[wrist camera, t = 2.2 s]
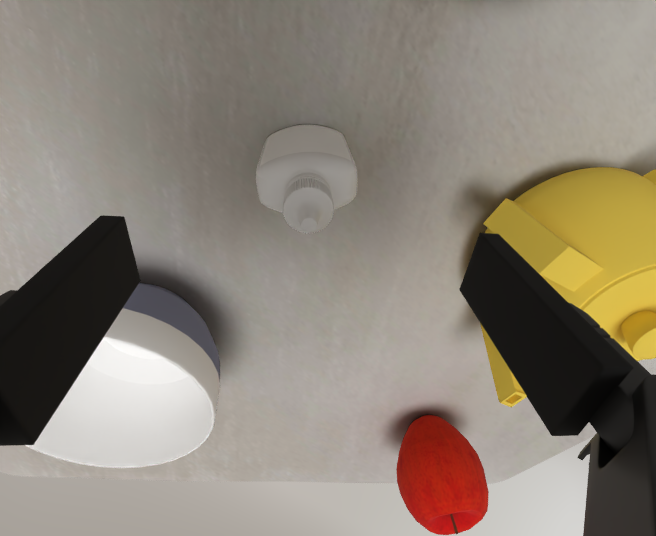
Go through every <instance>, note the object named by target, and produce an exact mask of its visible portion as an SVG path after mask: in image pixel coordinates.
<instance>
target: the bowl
mask: <svg viewBox="0 0 656 536" xmlns="http://www.w3.org/2000/svg"><path fill="white" fill-rule="evenodd" d="M219 391H220V361H219V355H218V350H217V348H216V345H215V343H214V341H213V338H212V336H211V334H210V332H209V329H208V327H207V325H206V323H205V322H204V320H203V319H202V318H201V316H200V315H199V314H198V313H197V312H196V311H195V310H194V309H193V308H192V307H191V306H190V305H189V304H188V303H187V302H186V301H185V300H184V299H183V298H181V297H180V296H178V295H177V294H175V293H173V292H171V291H169V290H167V289H165V288H162V287H159V286H155V285H151V284H144V283H139V284H138V285H137V287H136V288H135V290H134V292H133V293H132V295H131V296H130V298H129V299H128V301H127V302H126V304H125V305H124V307H123V308H122V310H121V311H120V313H119V315H118V316H117V318H116V319H115V321H114V322H113V324H112V325H111V327H110V328H109V330H108V331H107V333H106V334H105V336H104V338H103V339H102V341H101V342H100V344H99V345H98V347H97V348H96V350H95V351H94V353H93V354H92V356H91V358H90V359H89V361H88V362H87V364H86V365H85V367H84V368H83V370H82V371H81V373H80V374H79V376H78V377H77V379H76V381H75V382H74V384H73V385H72V387H71V388H70V390H69V391H68V393H67V394H66V396H65V397H64V399H63V400H62V402H61V404H60V405H59V407H58V408H57V410H56V411H55V413H54V414H53V416H52V417H51V419H50V420H49V422H48V423H47V425H46V427H45V428H44V430H43V431H42V433H41V434H40V436H39V437H38V439H37V440H36V442H35V443H34V445H25V446H27V447H29V448H31V449H33V450H36V451H38V452H40V453H43V454H46V455H49V456H52V457H55V458H58V459H62V460H66V461H70V462H74V463H78V464H84V465H91V466H97V467H110V468H137V467H145V466H153V465H158V464H162V463H166V462H170V461H173V460H176V459H178V458H181V457H183V456H185V455H187V454H189V453H190V452H192V451H194V450H195V449H197V448H198V447H199V446H200V445H201V444H202V443H203V442H204V441H205V440H206V439H207V438H208V436H209V435H210V433H211V431H212V429H213V427H214V423H215V417H216V411H217V404H218V397H219Z"/></svg>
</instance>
